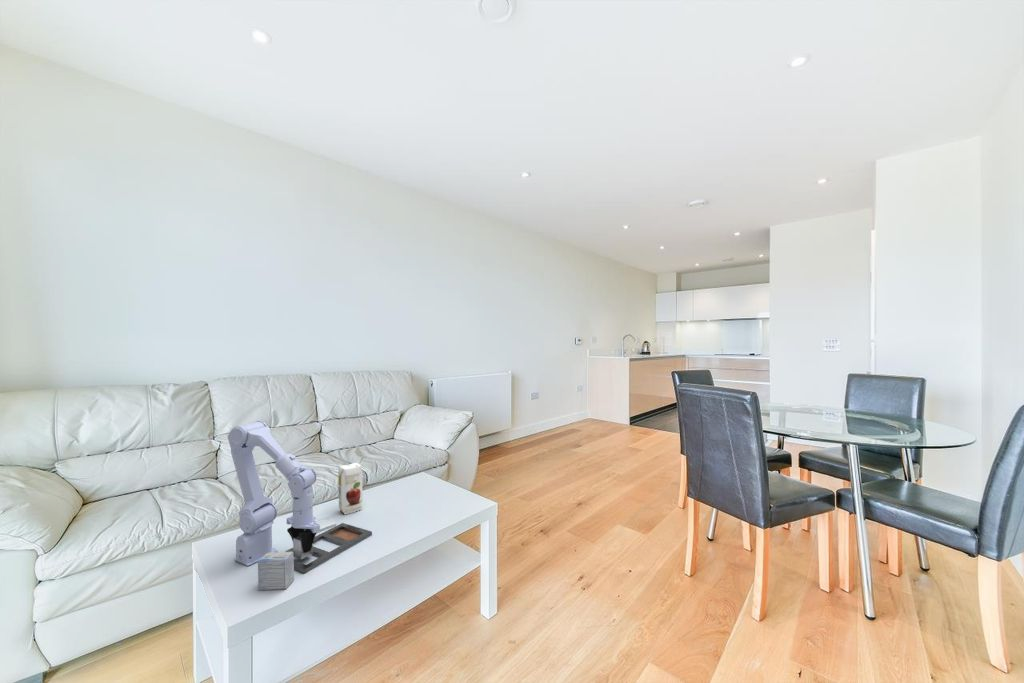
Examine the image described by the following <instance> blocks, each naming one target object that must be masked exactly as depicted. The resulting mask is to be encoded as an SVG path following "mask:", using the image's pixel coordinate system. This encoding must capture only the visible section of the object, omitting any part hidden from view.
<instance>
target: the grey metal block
mask: <svg viewBox="0 0 1024 683" xmlns="http://www.w3.org/2000/svg"><path fill="white" fill-rule="evenodd" d="M292 545H293V546H292V548H293V556H294V559H298V560H303V559H306V558H308V557H309V556H312V554H313V545H314V544H312V548H311V550H310V551H309V552H307V553H304V551H303V544H302V540H301V537H300V536H297V537H295V538H293V541H292Z"/></svg>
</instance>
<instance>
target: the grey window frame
mask: <svg viewBox="0 0 1024 683" xmlns="http://www.w3.org/2000/svg"><path fill="white" fill-rule="evenodd" d="M372 535H373V531H372V530H367V529H364V528H361V527H358V526H354V525H351V524H348V523H344V522H341V523H340V524H336V526H335V527H332V528H329V529H327V530H324V531H322V532H320V533H319V534H316V535H315V538H314V541H313V545H314V544H316V543H317V542H320V541H322V540H323V541H326V542H329V543H332V544H335V545H338V546H337V547H336V548H334V549H332V550H331V551H328V550H324V549H323V548H319V547H317V546H313V554H311V556H315V557H318V558H316V559H314V560H313V561H311V562H308V563H307V564H305V563H303V562H299V561H297V560H295V559H294V571H296V572H298V573H300V574H304V575H305V574H306V573H308V572H309V571H312V570H314V569H316V568H317V567H319V566H320V565H322V564H324V563H326V562H327V561H329V560H331V559H332V558H335V557H336V556H339V555H340V554H341V553H343V552H345V551H347V550H348V549H350V548H351V547H353V546H356V545H357V544H359V543H360V542H362V541H364V540H365V539H367V538H369V537H370V536H372ZM284 552H293V547H292V548H289V549H287V550H285V551H284Z"/></svg>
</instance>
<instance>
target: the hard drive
mask: <svg viewBox="0 0 1024 683" xmlns="http://www.w3.org/2000/svg"><path fill="white" fill-rule="evenodd" d="M316 523H317V524H319V525H320V531H318V532H317V533H316V534H318V533H319V534H320V533H322V532H325V531H327V530H329V529H331V528H333V527H335V526H337V523H336V522H335V521H333V520H332V519H330V517H325V518H322V519H320V520H317V521H316Z"/></svg>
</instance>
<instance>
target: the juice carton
mask: <svg viewBox="0 0 1024 683" xmlns="http://www.w3.org/2000/svg"><path fill="white" fill-rule="evenodd" d="M337 477H338V479H337V480H338V482H337V483H338V507H339V509H340V512H341V511H342V512H343V513H344V514H345V515H344V514H343V513H342V512H341V513H342V514H343V515H344V516H346V514H347V515H350V514H352V512H353V513H357V512H360V511H362V509H363V503H364V502H363V501H364V500H363V494H364V493H363V469H362V465H361V464H360V463H358V462H353V463H349V464H344V465H343V464H342V465H339V467H338V474H337ZM359 510H360V511H359ZM356 511H357V512H356ZM349 513H350V514H349Z"/></svg>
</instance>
